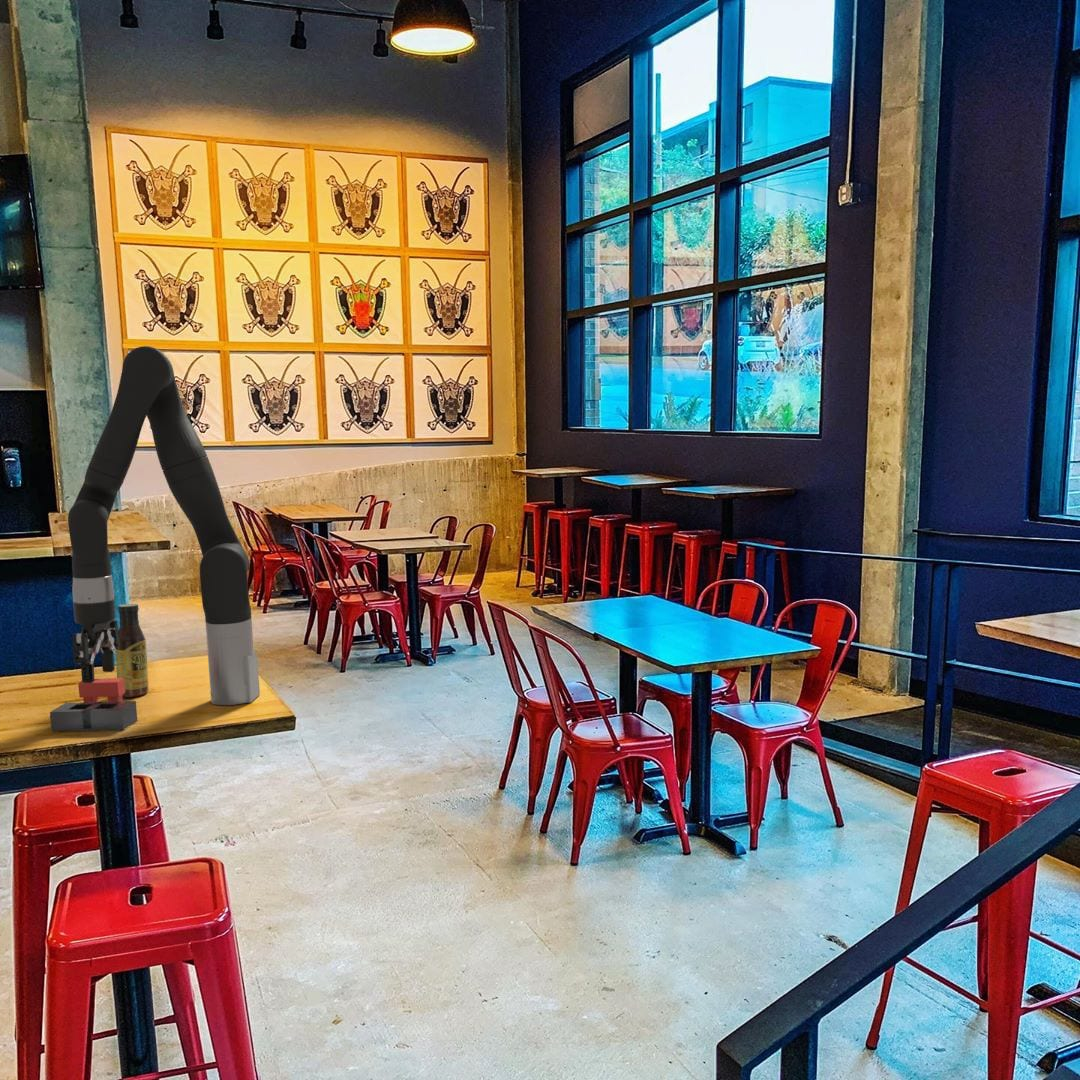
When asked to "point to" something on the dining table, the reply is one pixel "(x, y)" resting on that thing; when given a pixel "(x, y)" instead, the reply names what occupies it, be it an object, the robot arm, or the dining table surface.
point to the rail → (93, 716)
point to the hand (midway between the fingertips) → (98, 676)
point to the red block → (102, 689)
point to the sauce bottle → (131, 652)
